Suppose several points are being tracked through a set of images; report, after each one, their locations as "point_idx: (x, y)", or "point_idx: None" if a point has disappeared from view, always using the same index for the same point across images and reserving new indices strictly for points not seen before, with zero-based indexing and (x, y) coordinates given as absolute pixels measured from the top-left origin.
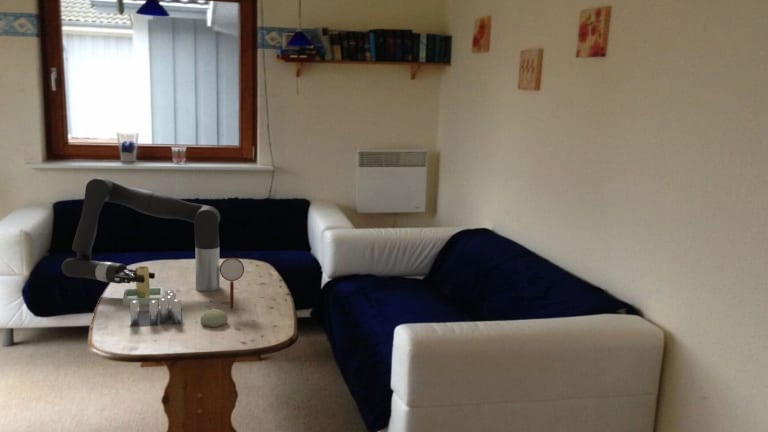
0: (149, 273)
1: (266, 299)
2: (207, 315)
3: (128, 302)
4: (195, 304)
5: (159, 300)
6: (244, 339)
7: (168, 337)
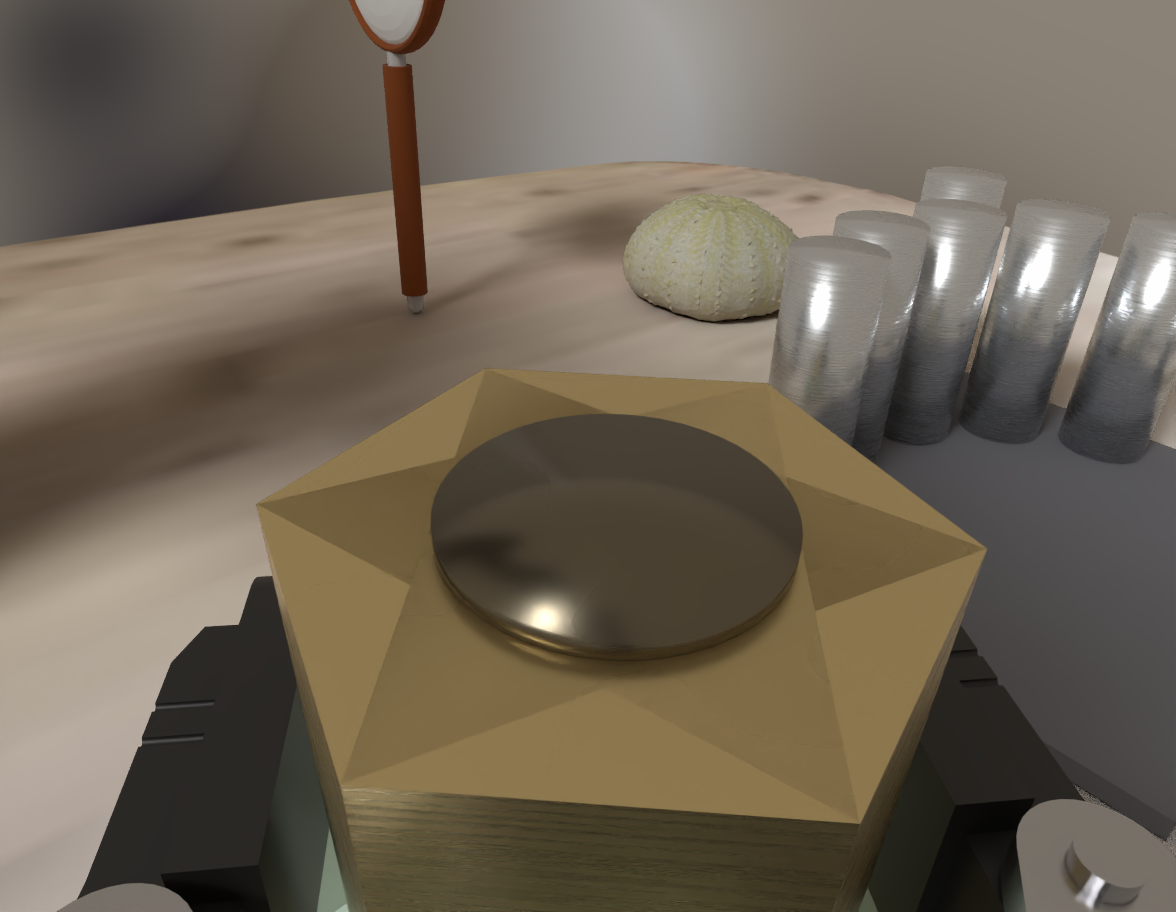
0: (299, 702)
1: (59, 282)
2: (783, 223)
3: None
4: None
5: (1110, 216)
6: (779, 203)
7: None
